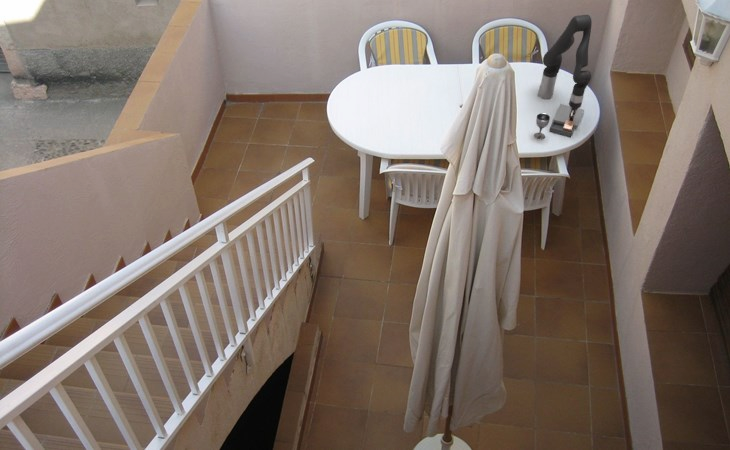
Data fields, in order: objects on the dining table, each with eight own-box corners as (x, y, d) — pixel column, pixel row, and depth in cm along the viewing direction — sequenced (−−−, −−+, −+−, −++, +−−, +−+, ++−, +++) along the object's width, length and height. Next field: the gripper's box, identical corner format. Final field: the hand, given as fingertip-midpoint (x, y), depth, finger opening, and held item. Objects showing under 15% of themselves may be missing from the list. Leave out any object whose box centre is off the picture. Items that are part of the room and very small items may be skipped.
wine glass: (531, 132, 440) (535, 113, 430) (543, 131, 441) (547, 112, 430) (534, 140, 435) (538, 121, 424) (547, 139, 435) (551, 120, 424)
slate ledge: (552, 123, 447) (552, 119, 445) (559, 107, 459) (560, 103, 457) (576, 129, 442) (577, 125, 440) (583, 113, 454) (584, 109, 452)
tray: (549, 131, 441) (550, 127, 438) (552, 123, 446) (553, 119, 444) (570, 137, 436) (571, 133, 434) (574, 129, 442) (575, 125, 440)
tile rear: (563, 128, 441) (564, 126, 439) (566, 121, 442) (566, 119, 440) (571, 130, 439) (571, 128, 437) (573, 123, 441) (574, 121, 438)
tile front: (564, 128, 441) (562, 131, 440) (564, 124, 436) (563, 127, 435) (571, 130, 439) (570, 133, 438) (572, 126, 435) (571, 129, 434)
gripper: (572, 92, 434) (567, 114, 447) (567, 103, 426) (562, 125, 438) (584, 94, 432) (579, 117, 444) (579, 106, 424) (574, 128, 436)
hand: (570, 121), depth 441 cm, fingers closed
